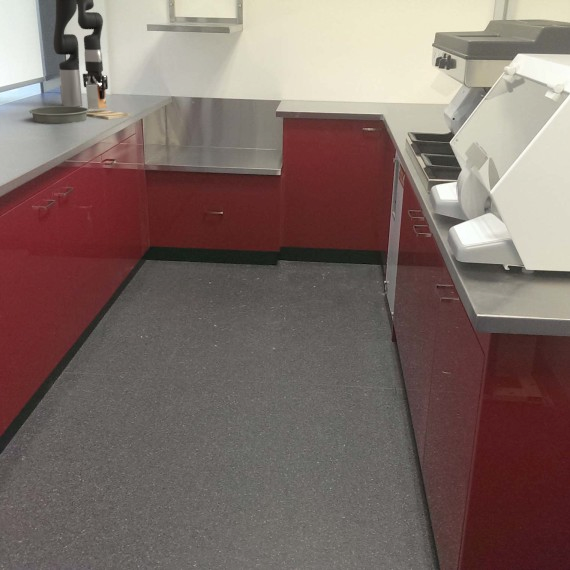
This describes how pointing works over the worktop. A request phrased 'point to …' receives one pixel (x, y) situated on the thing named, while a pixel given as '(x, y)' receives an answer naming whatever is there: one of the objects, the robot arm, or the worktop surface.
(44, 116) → the cake pan
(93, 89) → the small box
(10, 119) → the worktop surface
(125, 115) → the maple board
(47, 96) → the worktop surface
